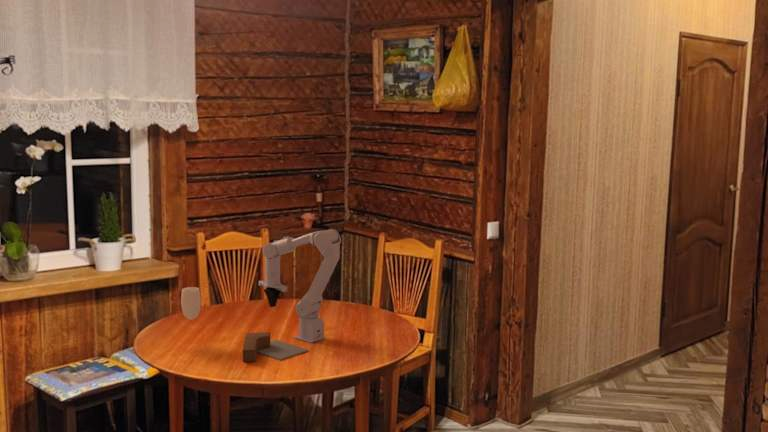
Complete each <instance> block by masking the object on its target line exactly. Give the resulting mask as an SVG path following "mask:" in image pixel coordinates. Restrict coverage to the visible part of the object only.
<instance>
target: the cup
mask: <svg viewBox="0 0 768 432" xmlns="http://www.w3.org/2000/svg"><path fill="white" fill-rule="evenodd" d="M201 305H202V298H201V290H200V287H197V286H196V287H194V286H189V287H184V288H182V290H181V296H180V307H181V311H182V313H183V316H184V317H185V318H186V319H188V320H190V321H192V320H194V319H196V318H197V317H198V316H200V315H199V314H200V310H201V307H202V306H201Z"/></svg>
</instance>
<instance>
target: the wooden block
mask: <svg viewBox="0 0 768 432" xmlns="http://www.w3.org/2000/svg"><path fill="white" fill-rule="evenodd" d="M270 342H271V333H270V331H269V332H268V331H266V332H265V331H264V332H246V333H245V335H244V341H243V346H242V362H243V363H248V362H249V363H251V362H256V361H257V355H258V353H257V351H258V350H259V349H261V348H266V347H270Z"/></svg>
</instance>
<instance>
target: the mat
mask: <svg viewBox="0 0 768 432" xmlns="http://www.w3.org/2000/svg"><path fill="white" fill-rule="evenodd" d="M307 352H309V349H308V348H304V347H300V346H297V345H295V344H291V343H288V342H284V341H282V340H278V339H276V340H272V341H270V347H266V348H261V349H259V350H258V351H257V354H260V355H262V356H266V357H268V358H272V359H275V360H278V361H280V362H281V361H283V360H287V359H289V358H293V357H296V356H298V355H302V354H304V353H307Z"/></svg>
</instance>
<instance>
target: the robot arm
mask: <svg viewBox="0 0 768 432" xmlns="http://www.w3.org/2000/svg"><path fill="white" fill-rule="evenodd" d="M341 242H342V239H341V236H340V233H339V232H338V231H337V230H336V229H334V228H329V229H327V230H326V229H325V230H317V231H313V232H310V233H307V234H304V235H300V236H299V237H296V238H294V237H291V236H288V235H286V236H283V238H281V239H279V240H278V239H276V240H273V242H269V243H266V244H264V245H263V247H262V255H263V256H264V257H265V258H264V259H265V260H264V261H265V262H264V264H265V265H264V267H265V268H264V271H265V272H264V273H265V277H264V278H265V280H258V286H259V287H264V289H263V292H264V294H265V296H266V297H267V300H268V304H269V307H271V308H274V307H276V306H277V301H278V299H279V297H280V294H281V293H282V292H283V293H285V292H288V286H287V285H284V284H282V283H281V258H282V257H281V256H282V255H286V254H289V253H291V252H294V251H296V250H297V247H300V246H303V245H306V244H307V245H308V244H311V245H312V246H315V247H316V249H317V250H318V251H319V252H320V253H321V255H322V256H323V260H322V261H321V264H320V266H319V268H318V270H317V272H316V274H315V276H314V279H313V280H312V282H311V285H310V287H309V289H308V291H307V292H306V293H305V294H304V295H303V296H302V298H301V300H300V301H299V302H297V303H296V305H295V312H296V314H297V315H298V319H299V320H298V325H299V327H298V329H299V330H298V335H295V336H294V339H297V340H300V341H303V342H307V343H315V342H318V341H322V340H324V339H326V336H325V322H324V320H323V319H322V318H320V316H319V312H320V310H321V309H322V302H323V293H324V291H325V289H326V287H327V284H329V281H330V279H331V277H332V274H333V273H334V271H335V268H336V266H337V264H338V262H339V260H340V256H341V255H340V254H341V252H340V249H341V247H340V245H341Z"/></svg>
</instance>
